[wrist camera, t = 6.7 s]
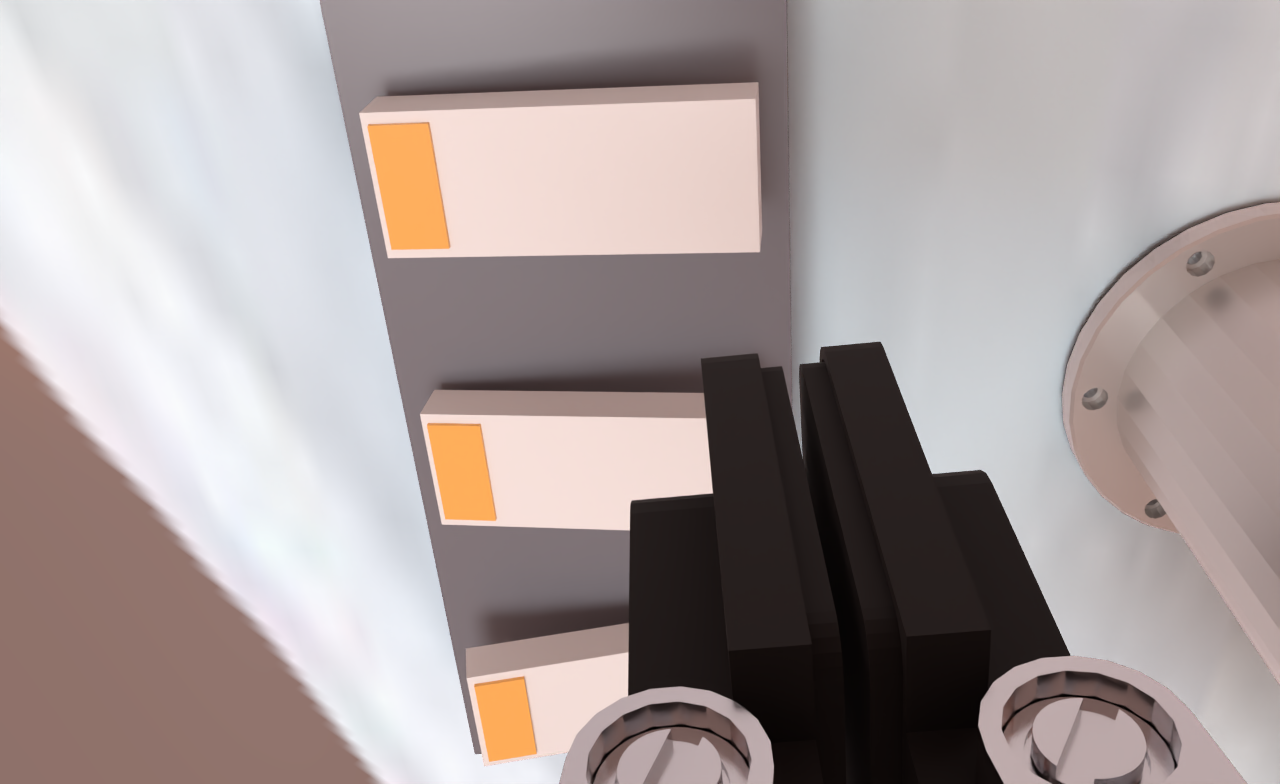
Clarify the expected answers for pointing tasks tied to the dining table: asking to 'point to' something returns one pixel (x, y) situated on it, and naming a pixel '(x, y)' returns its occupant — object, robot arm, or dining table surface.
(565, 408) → the rocker middle
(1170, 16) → the dining table surface
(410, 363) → the grey switch panel
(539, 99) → the rocker near
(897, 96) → the dining table surface
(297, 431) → the dining table surface
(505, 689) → the rocker far
